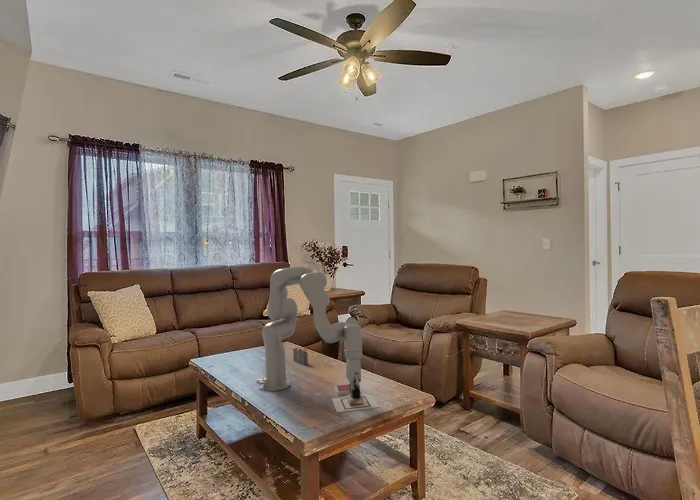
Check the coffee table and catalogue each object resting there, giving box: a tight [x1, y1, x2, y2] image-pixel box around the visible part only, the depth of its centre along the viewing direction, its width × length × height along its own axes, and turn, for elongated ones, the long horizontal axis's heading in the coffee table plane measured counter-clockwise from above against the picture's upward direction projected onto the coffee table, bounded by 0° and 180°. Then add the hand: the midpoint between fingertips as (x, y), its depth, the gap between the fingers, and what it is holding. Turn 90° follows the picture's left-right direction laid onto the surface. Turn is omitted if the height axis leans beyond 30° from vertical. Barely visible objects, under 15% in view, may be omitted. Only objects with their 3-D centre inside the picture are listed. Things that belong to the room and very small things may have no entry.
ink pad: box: [334, 383, 351, 396], centre depth 186 cm, size 10×8×2 cm
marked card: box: [331, 393, 380, 414], centre depth 171 cm, size 18×14×1 cm
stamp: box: [346, 380, 364, 406], centre depth 171 cm, size 6×6×10 cm
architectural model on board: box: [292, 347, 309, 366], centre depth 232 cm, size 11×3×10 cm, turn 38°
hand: (354, 395), depth 171 cm, fingers open, 5 cm apart
